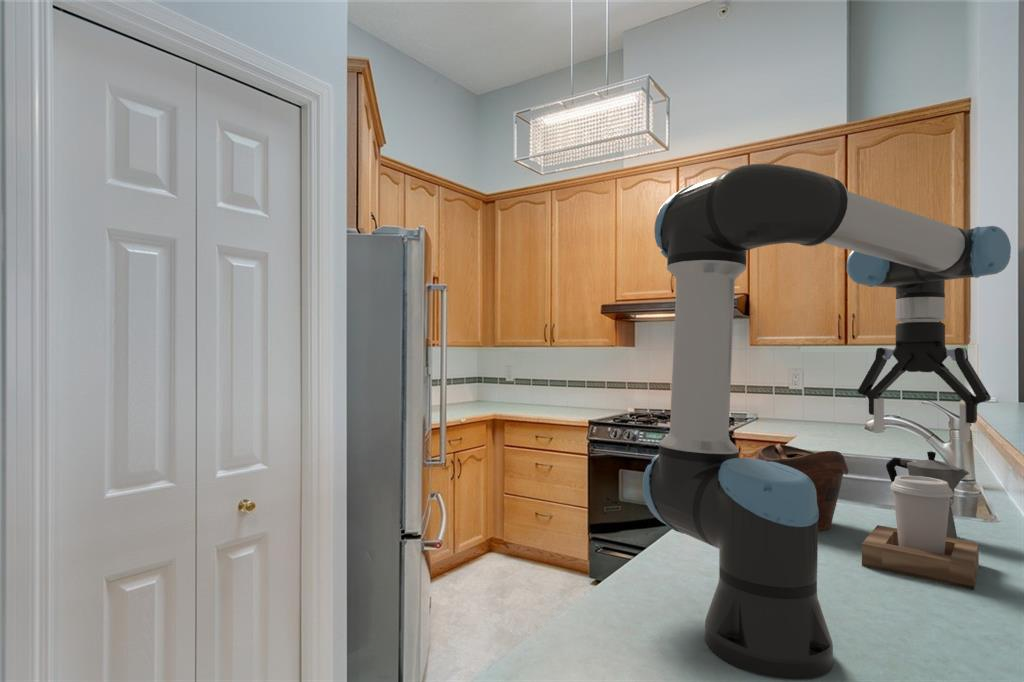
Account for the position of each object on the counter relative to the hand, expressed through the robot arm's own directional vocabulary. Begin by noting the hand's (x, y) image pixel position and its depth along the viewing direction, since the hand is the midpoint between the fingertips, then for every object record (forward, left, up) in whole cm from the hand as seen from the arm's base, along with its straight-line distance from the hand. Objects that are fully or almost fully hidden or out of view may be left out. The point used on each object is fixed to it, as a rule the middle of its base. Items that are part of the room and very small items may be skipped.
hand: (919, 437), depth 107 cm
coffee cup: (0, 0, -23) cm, 23 cm away
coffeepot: (+22, -10, -24) cm, 34 cm away
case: (+24, +15, -24) cm, 37 cm away
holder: (0, 0, -23) cm, 23 cm away
